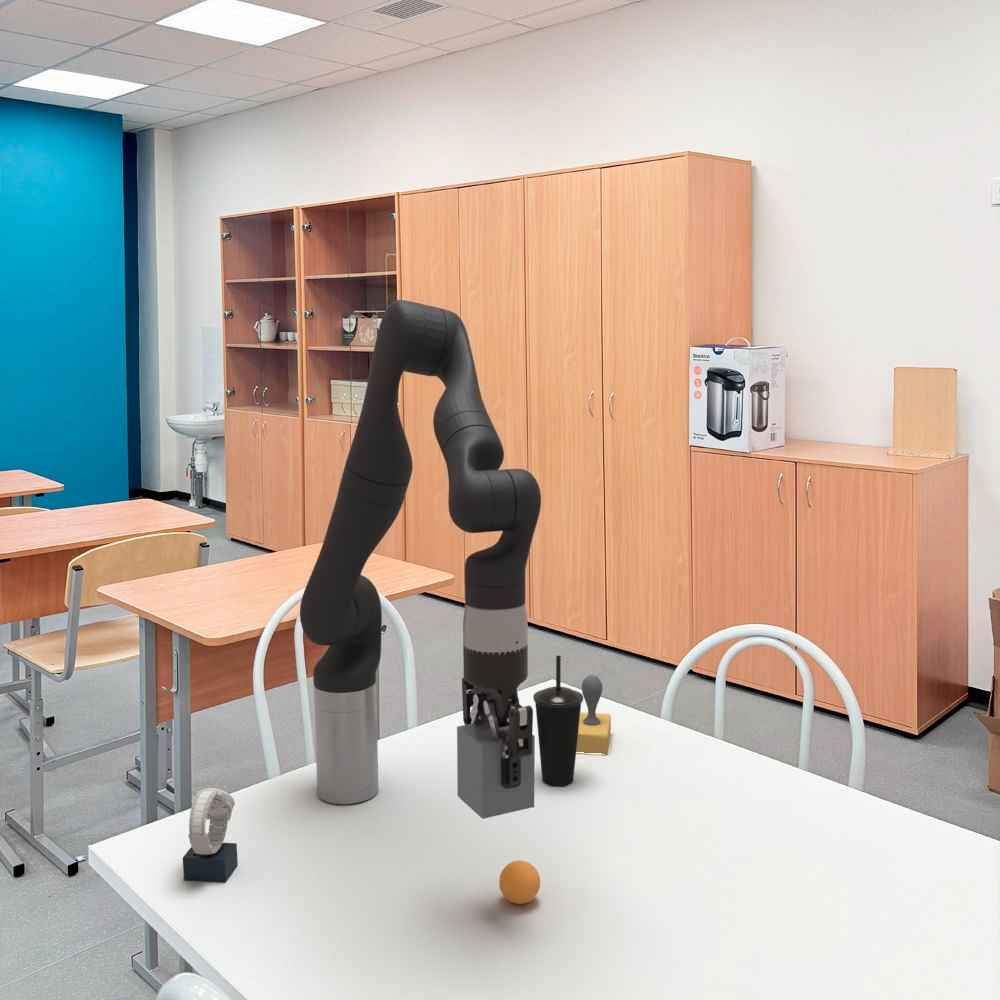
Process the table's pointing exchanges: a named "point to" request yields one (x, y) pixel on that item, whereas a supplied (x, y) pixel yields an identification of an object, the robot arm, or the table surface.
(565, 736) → the drinking cup
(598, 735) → the rubber stamp
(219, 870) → the watch
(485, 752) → the grey block
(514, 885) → the ball
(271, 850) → the table surface
